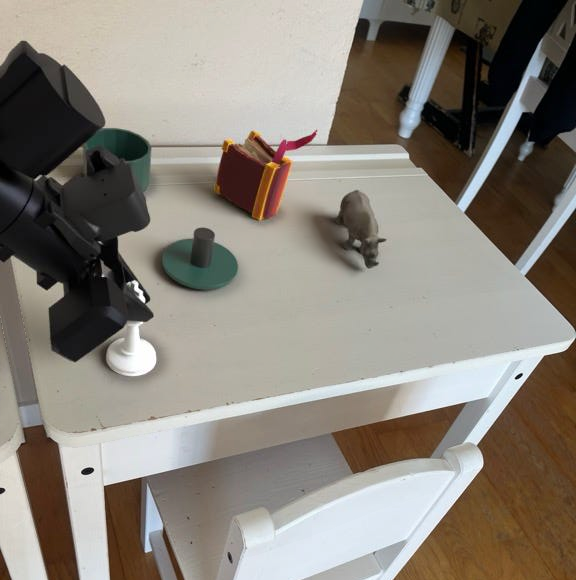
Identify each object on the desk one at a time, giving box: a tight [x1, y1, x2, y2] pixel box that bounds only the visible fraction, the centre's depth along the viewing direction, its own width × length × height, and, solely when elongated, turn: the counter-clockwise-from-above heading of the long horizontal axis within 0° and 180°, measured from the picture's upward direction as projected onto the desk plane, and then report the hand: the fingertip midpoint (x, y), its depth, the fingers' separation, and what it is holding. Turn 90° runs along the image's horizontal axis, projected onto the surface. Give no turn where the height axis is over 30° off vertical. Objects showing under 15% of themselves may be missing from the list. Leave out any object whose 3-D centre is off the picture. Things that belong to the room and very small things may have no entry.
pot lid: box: [161, 227, 239, 291], centre depth 73 cm, size 9×9×5 cm
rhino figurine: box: [334, 189, 388, 269], centre depth 82 cm, size 4×14×6 cm, turn 11°
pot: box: [82, 127, 153, 193], centre depth 81 cm, size 8×8×5 cm
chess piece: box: [105, 280, 157, 377], centre depth 59 cm, size 5×5×10 cm
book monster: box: [213, 129, 319, 221], centre depth 84 cm, size 11×9×12 cm
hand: (148, 310), depth 58 cm, fingers closed on chess piece
